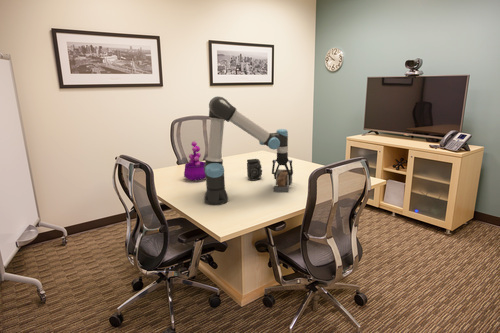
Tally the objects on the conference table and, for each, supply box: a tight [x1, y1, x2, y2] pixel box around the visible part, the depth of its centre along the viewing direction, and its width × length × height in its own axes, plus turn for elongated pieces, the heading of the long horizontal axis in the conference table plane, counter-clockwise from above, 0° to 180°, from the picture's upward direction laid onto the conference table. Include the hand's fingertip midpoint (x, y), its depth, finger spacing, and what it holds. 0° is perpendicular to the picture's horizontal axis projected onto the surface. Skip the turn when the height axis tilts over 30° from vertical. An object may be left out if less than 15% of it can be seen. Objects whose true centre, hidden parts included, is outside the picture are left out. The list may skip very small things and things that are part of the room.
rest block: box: [272, 185, 290, 193], centre depth 224 cm, size 10×4×4 cm, turn 78°
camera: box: [246, 158, 263, 181], centre depth 251 cm, size 10×10×15 cm
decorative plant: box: [183, 141, 206, 182], centre depth 252 cm, size 19×18×30 cm
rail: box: [277, 172, 287, 187], centre depth 230 cm, size 4×16×6 cm, turn 166°
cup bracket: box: [275, 168, 293, 186], centre depth 238 cm, size 12×6×10 cm, turn 78°
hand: (282, 183), depth 231 cm, fingers open, 7 cm apart
